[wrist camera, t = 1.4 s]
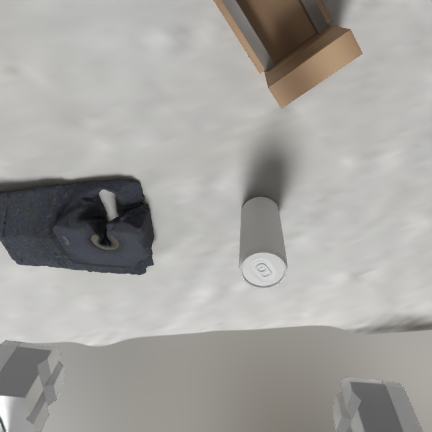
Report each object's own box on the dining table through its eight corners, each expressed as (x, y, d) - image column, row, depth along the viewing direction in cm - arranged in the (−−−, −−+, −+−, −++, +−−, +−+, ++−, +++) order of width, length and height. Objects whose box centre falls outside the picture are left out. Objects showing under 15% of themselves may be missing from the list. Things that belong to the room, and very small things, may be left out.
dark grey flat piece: (-17, 171, 47) (-43, 187, 42) (150, 177, 45) (140, 194, 41) (16, 265, 54) (-3, 286, 50) (159, 272, 53) (152, 295, 49)
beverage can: (266, 187, 44) (272, 243, 34) (286, 216, 46) (297, 277, 35) (233, 206, 46) (229, 264, 35) (254, 233, 47) (255, 296, 37)
